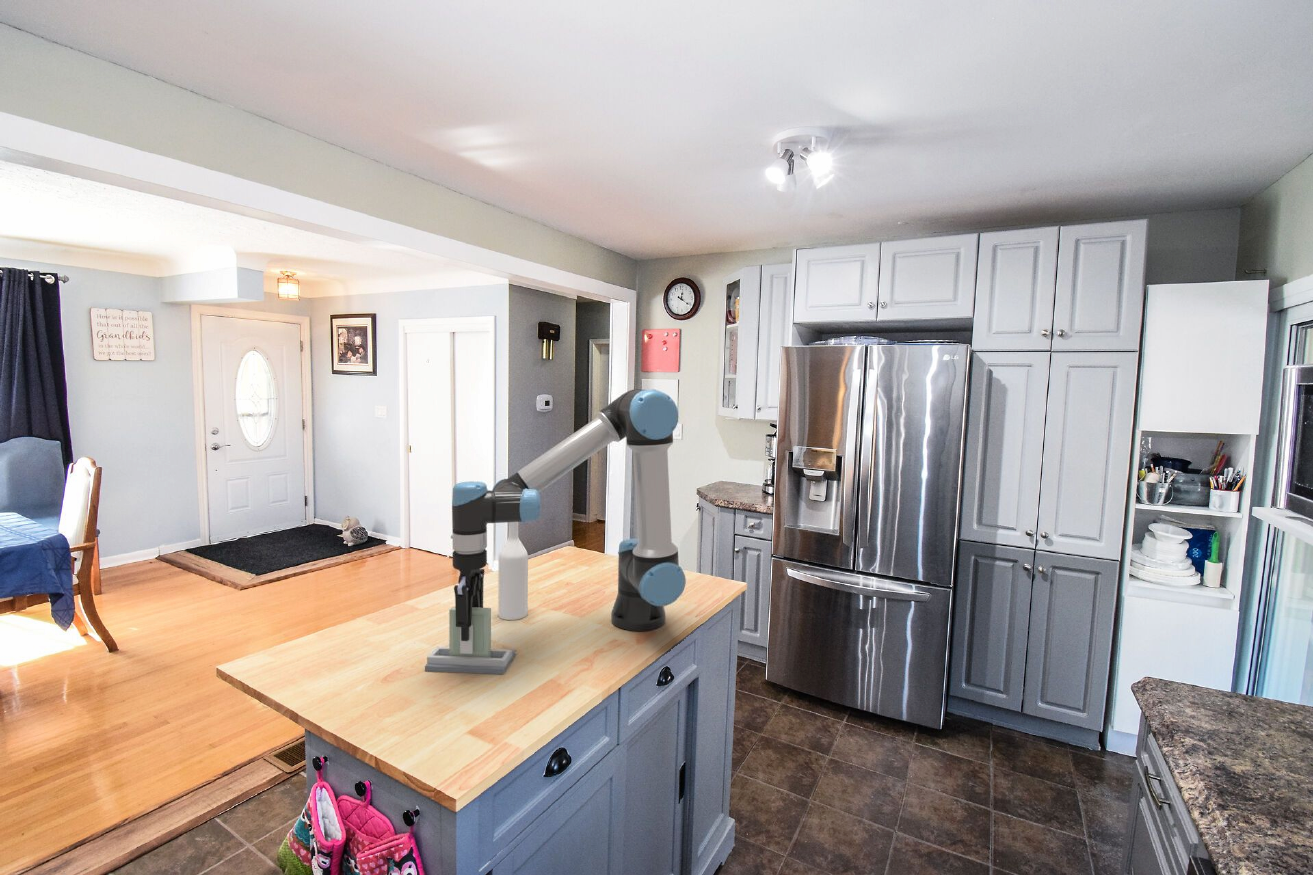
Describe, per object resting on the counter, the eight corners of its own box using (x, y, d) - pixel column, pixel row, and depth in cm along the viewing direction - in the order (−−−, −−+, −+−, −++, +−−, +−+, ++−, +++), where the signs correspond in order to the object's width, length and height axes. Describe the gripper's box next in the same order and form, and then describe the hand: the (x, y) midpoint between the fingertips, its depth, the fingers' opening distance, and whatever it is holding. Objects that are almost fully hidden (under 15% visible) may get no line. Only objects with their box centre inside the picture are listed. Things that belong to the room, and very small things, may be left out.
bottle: (506, 622, 164) (507, 514, 162) (493, 613, 170) (493, 509, 168) (532, 615, 169) (533, 511, 167) (519, 607, 175) (519, 506, 173)
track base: (515, 654, 145) (515, 643, 145) (503, 674, 135) (503, 662, 135) (442, 651, 146) (442, 640, 145) (424, 670, 136) (424, 659, 136)
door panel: (490, 657, 140) (491, 607, 140) (487, 662, 138) (487, 611, 137) (452, 656, 141) (453, 606, 140) (448, 660, 138) (449, 610, 137)
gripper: (466, 539, 146) (467, 632, 148) (438, 559, 129) (439, 664, 131) (497, 540, 145) (497, 633, 147) (473, 561, 128) (473, 666, 130)
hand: (470, 648), depth 139 cm, fingers open, 4 cm apart
